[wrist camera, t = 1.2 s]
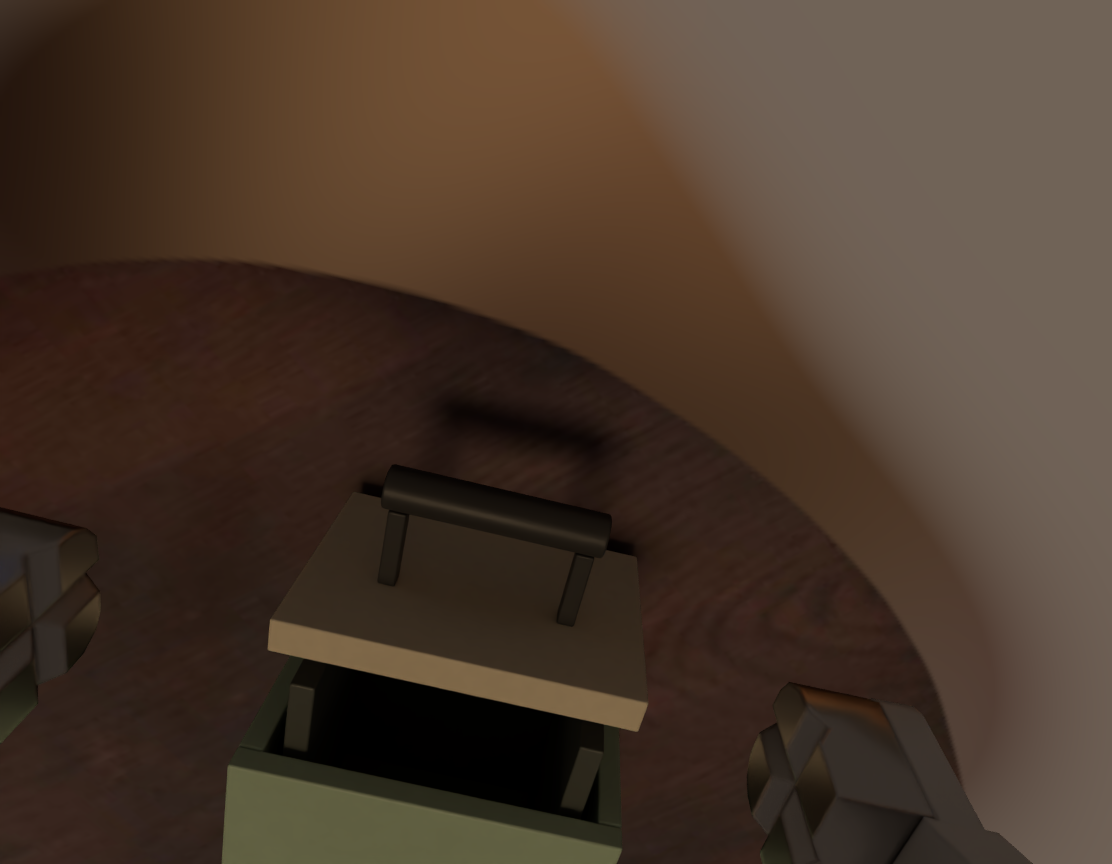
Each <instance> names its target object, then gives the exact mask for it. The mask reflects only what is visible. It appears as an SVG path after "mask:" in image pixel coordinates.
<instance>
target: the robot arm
mask: <svg viewBox="0 0 1112 864" xmlns="http://www.w3.org/2000/svg"><path fill="white" fill-rule="evenodd" d="M98 560H99V555H98V545H97V536H96V535H95V534H94V533H92V532H91V531H90V530H88V529H87V528H84V527H80V526H76V525H72V524H67V523H63V522H59V521H55V520H51V519H47V518H43V517H38V516H34V515H30V514H26V513H22V512H18V511H14V510H10V509H5V508H1V507H0V744H1V743H2V742H3V741H4V740H5V739H6V737H7V736H8V735H9V734H10V733H11V732H12V731H13V730H14V729H15V728H16V727H17V726H18V725H19V724H20V722H21V721H22V720H23V719H24V718H25V717H26V716H27V715H28V714H29V713H30V712H31V711H32V710H33V708H34V707H35V706H36V705H37V704H38V685H39V684H42V683H44V682H46V681H49V680H51V679H53V678H56V677H58V676H60V675H63V674H65V673H67V672H68V670H69V669H70V668H71V667H72V666H73V665H74V664H75V662H76V661H77V660H78V659H79V658H80V657H81V656H82V655H83V653H84V651H85V650H86V648H87V646H88V644H89V642H90V640H91V638H92V636H93V634H94V632H95V630H96V628H97V623H98V619H99V614H100V610H101V601H100V590H99V589H98V588H97V586H96V585H95V584H94V582H93V581H92V580H91V579H90V577H89V576H88V575H87V573H86V572H87V571H88V570H89V569H90V568H91V567H92V566H93V565H94V564H95V563H96V562H97V561H98ZM773 709H774V713H775V716H776V720H777V723H775V724H773V725H772V726H770V727H768V728H766V729H765V730H763V731H761V732H760V733H759V735H758V737H757V739H756V742H755V744H754V746H753V749H752V751H751V753H750V760H749V766H748V773H747V789H748V799H749V804H750V809H751V813H752V816H753V817H754V819H755V820H756V821H757V822H758V823H759V825H760V826H761V827H762V828H763V830H764V831H765V832H766V833H767V834H768V837H767V839H766V841H765V843H764V845H763V847H762V849H761V851H760V855H761V859H762V863H763V864H1033V863H1031V862H1030V861H1029V860H1028V859H1027V858H1026V857H1025V856H1024V855H1023V854H1021V853H1020V852H1019V851H1018V850H1017V849H1016V848H1015V847H1014V846H1012V845H1011V844H1010V843H1009V842H1008V841H1007V840H1006V839H1005V838H1003V837H1002V836H1001V835H1000V834H999V833H995V832H991V831H987V830H985V829H984V827H983V826H982V824H981V822H980V820H979V818H978V816H977V814H976V813H975V811H974V809H973V807H972V805H971V803H970V802H969V800H968V798H967V796H966V794H965V792H964V790H963V789H962V787H961V785H960V783H959V781H958V779H957V777H956V776H955V774H954V772H953V770H952V768H951V766H950V764H949V763H948V761H947V759H946V757H945V755H944V753H943V751H942V750H941V748H940V746H939V744H938V742H937V740H936V738H935V737H934V735H933V733H932V731H931V729H930V727H929V726H928V724H927V722H926V720H925V718H924V716H923V715H922V714H921V713H920V712H919V711H918V710H916V709H915V708H914V707H913V706H909V705H903V704H898V703H893V702H888V701H883V700H878V699H873V698H871V699H867V698H863V697H858V696H853V695H849V694H844V693H839V692H834V691H830V690H825V689H820V688H816V687H811V686H806V685H801V684H797V683H792V682H789V683H788V684H786V685H785V686H784V687H783V688H782V689H781V690H780V692H779V694H778V696H777V698H776V700H775V702H774V704H773Z"/></svg>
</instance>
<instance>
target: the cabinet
mask: <svg viewBox="0 0 1112 864" xmlns="http://www.w3.org/2000/svg"><path fill="white" fill-rule="evenodd" d="M303 659H304V658H301V657H296V656H292V655H290V657H289V659H288V661H287V662H286V664H285V666H284V668H283V670H282V671H281V673H280V675H279V677H278V678H277V680H276V682H275V684H274V685H273V687H272V689H271V691H270V692H269V694H268V696H267V698H266V699H265V701H264V703H263V705H262V706H261V708H260V710H259V712H258V713H257V715H256V717H255V719H254V720H253V722H252V724H251V726H250V727H249V729H248V731H247V733H246V734H245V736H244V738H243V740H242V741H241V743H240V746H239V748H238V749H237V750H236V752H235V754H234V755H233V757H232V759H231V761H230V763H229V764H228V771H227V787H226V804H225V820H224V836H223V852H222V864H617V861H618V859H619V856H620V854H621V851H622V831H621V827H622V825H621V789H620V753H619V728H618V727H613V726H609V725H604V754H603V757H602V760H601V763H600V766H599V768H598V771H597V774H596V777H595V779H594V782H593V785H592V788H591V791H590V793H589V796H588V799H587V802H586V804H585V807H584V810H583V813H582V816H581V818H580V820H579V819H574V818H570V817H565V816H560V815H556V814H551V813H546V812H542V811H537V810H532V809H528V808H523V807H518V806H514V805H509V804H505V803H500V802H495V801H491V800H486V799H481V798H477V797H472V796H467V795H463V794H458V793H453V792H449V791H444V790H439V789H435V788H430V787H425V786H421V785H416V784H411V783H407V782H402V781H397V780H393V779H388V778H383V777H379V776H374V775H370V774H365V773H360V772H356V771H351V770H346V769H342V768H337V767H332V766H328V765H323V764H318V763H314V762H309V761H304V760H300V759H295V758H290V757H286V756H282V755H283V746H284V736H285V727H286V717H287V708H288V698H289V688H290V683H291V681H292V679H293V677H294V676H295V674H296V672H297V670H298V668H299V666H300V665H301V663H302V661H303Z"/></svg>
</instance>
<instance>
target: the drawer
mask: <svg viewBox="0 0 1112 864" xmlns="http://www.w3.org/2000/svg"><path fill="white" fill-rule="evenodd" d="M611 525H612V518H611V515H609V514H606V513H602V512H597V511H593V510H589V509H585V508H580V507H576V506H572V505H567V504H563V503H559V502H555V501H550V500H546V499H542V498H537V497H533V496H529V495H525V494H520V493H516V492H512V491H507V490H503V489H499V488H494V487H490V486H486V485H482V484H477V483H473V482H469V481H464V480H460V479H456V478H452V477H447V476H443V475H439V474H434V473H430V472H426V471H422V470H417V469H413V468H409V467H404V466H400V465H396V464H394V465H392V466H391V467H390V469H389V471H388V473H387V476H386V479H385V482H384V486H383V490H382V496H381V498H379V497H374V496H370V495H366V494H361V493H357V492H353V493H352V495H351V496H350V498H349V499H348V501H347V502H346V504H345V506H344V507H343V509H342V510H341V512H340V513H339V515H338V516H337V518H336V519H335V521H334V522H333V524H332V526H331V527H330V529H329V530H328V532H327V533H326V535H325V536H324V538H323V539H322V541H321V542H320V544H319V545H318V547H317V549H316V550H315V552H314V553H313V555H312V556H311V558H310V559H309V561H308V562H307V564H306V565H305V567H304V569H303V570H302V572H301V573H300V575H299V576H298V578H297V579H296V581H295V582H294V584H293V585H292V587H291V589H290V590H289V592H288V593H287V595H286V596H285V598H284V599H283V601H282V602H281V604H280V605H279V607H278V609H277V610H276V612H275V613H274V615H273V616H272V618H271V619H270V627H269V639H268V650H269V651H274V652H278V653H283V654H287V655H292V656H296V657H301V658H304V659H303V661H302V663H301V665H300V666H299V668H298V670H297V672H296V674H295V676H294V677H293V679H292V681H291V683H290V688H289V698H288V708H287V717H286V727H285V736H284V746H283V755H282V756H286V757H290V758H295V759H300V760H304V761H309V762H314V763H318V764H323V765H328V766H332V767H337V768H342V769H346V770H351V771H356V772H360V773H365V774H370V775H374V776H379V777H383V778H388V779H393V780H397V781H402V782H407V783H411V784H416V785H421V786H425V787H430V788H435V789H439V790H444V791H449V792H453V793H458V794H463V795H467V796H472V797H477V798H481V799H486V800H491V801H495V802H500V803H505V804H509V805H514V806H518V807H523V808H528V809H532V810H537V811H542V812H546V813H551V814H556V815H560V816H565V817H570V818H574V819H579V820H580V818H581V816H582V813H583V810H584V807H585V804H586V802H587V799H588V796H589V793H590V791H591V788H592V785H593V782H594V779H595V777H596V774H597V771H598V768H599V766H600V763H601V760H602V757H603V754H604V725H609V726H613V727H618V728H622V729H627V730H632V731H638V730H639V727H640V724H641V722H642V719H643V717H644V714H645V711H646V709H647V706H648V694H647V681H646V668H645V656H644V643H643V630H642V618H641V605H640V592H639V580H638V567H637V557H634V556H630V555H626V554H621V553H617V552H613V551H608V550H606V549H607V545H608V542H609V537H610V532H611Z"/></svg>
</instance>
